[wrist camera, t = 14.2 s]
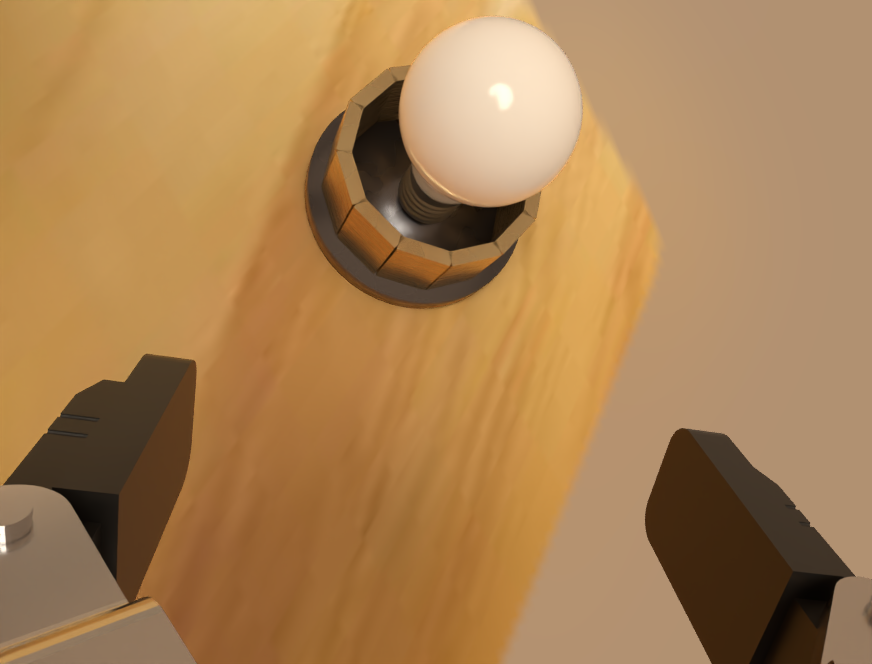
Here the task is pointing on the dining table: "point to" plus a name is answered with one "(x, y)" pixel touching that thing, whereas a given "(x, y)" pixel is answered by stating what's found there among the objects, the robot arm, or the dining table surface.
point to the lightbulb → (486, 117)
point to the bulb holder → (398, 212)
